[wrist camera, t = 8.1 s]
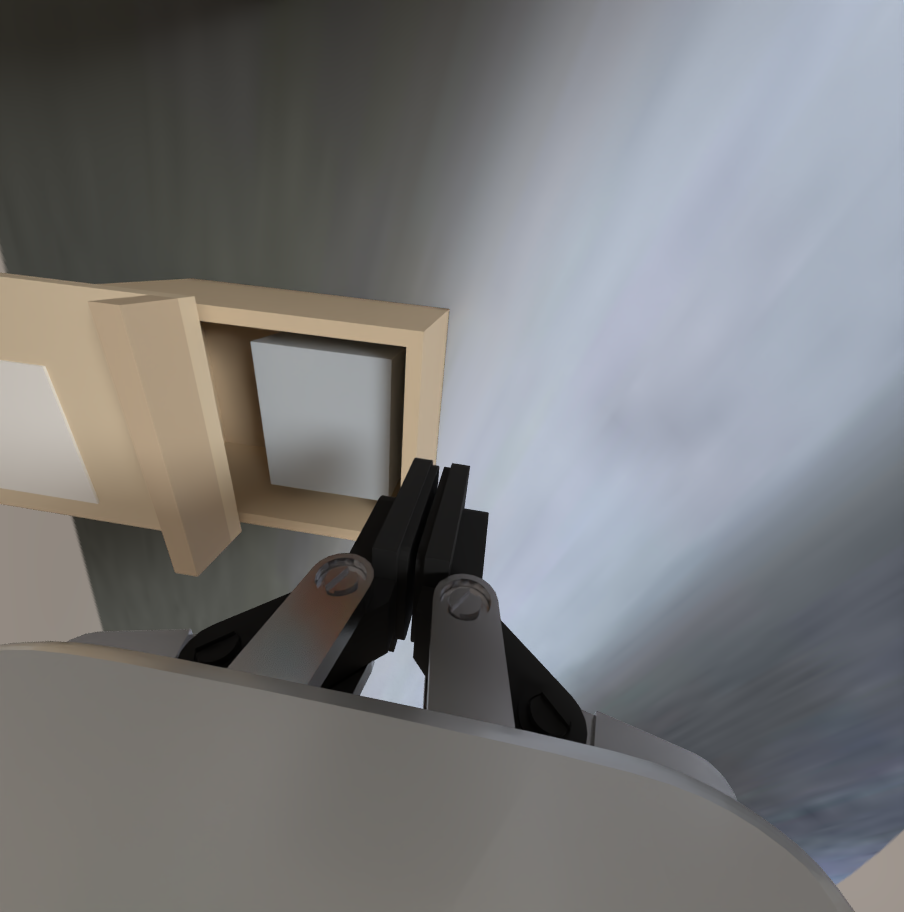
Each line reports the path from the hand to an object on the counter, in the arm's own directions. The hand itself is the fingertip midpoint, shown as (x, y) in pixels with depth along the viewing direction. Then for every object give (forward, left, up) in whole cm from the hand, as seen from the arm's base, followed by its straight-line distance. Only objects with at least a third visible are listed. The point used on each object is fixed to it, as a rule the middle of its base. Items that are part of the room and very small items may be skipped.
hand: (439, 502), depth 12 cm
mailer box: (+9, +1, -11) cm, 14 cm away
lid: (+17, +1, -4) cm, 17 cm away
